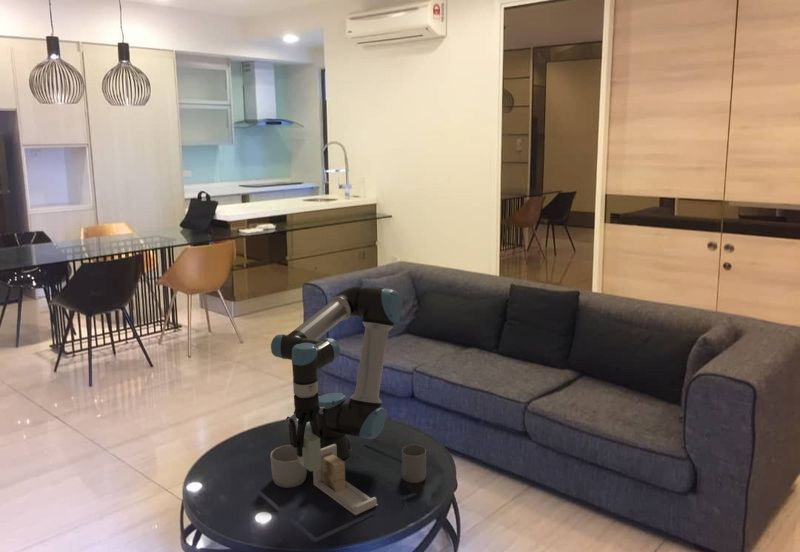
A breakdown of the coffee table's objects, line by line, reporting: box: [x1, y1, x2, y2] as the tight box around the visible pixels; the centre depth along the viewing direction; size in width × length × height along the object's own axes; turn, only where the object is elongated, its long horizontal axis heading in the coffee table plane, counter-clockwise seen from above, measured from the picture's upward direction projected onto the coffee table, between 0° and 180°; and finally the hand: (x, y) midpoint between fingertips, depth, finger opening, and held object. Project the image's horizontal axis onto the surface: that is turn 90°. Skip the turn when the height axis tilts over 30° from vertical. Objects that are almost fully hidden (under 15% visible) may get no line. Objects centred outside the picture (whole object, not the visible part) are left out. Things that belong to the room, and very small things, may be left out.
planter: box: [269, 444, 308, 489], centre depth 225 cm, size 12×12×11 cm
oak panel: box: [321, 453, 346, 493], centre depth 220 cm, size 8×4×10 cm, turn 40°
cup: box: [401, 444, 427, 484], centre depth 228 cm, size 8×8×10 cm
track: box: [312, 444, 379, 516], centre depth 215 cm, size 24×9×13 cm, turn 40°
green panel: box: [296, 428, 321, 473], centre depth 206 cm, size 8×4×10 cm, turn 38°
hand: (309, 462), depth 207 cm, fingers closed on green panel, 4 cm apart
